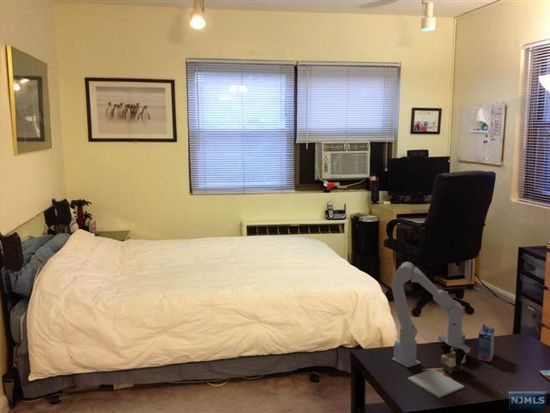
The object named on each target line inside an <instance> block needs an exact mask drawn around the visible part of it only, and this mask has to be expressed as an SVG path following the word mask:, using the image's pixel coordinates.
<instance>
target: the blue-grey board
mask: <svg viewBox="0 0 550 413" xmlns="http://www.w3.org/2000/svg"><path fill="white" fill-rule="evenodd" d="M407 380H408V381H410V382H411V383H413V384H415V385H417V386H418V387H419V388H422V389H423V388H424V389H423V390H424V391H427V392H429V393H430V394H432V395H434V396H436V397H437V398H443V397H444V396H447V395H450V394H452V393H455V392H457V391H460V390H462V389H464V388H465V385H463V384H461V383H459V382H457V381H456V380H454V379H452V378H450V377H448V376H446V375H444V374H442V373H441V372H439V371H437V370H435V369H433V368H431V369H429V370H426V371H422V372H420V373H417V374H414V375H412V376H409V377H407Z"/></svg>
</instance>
